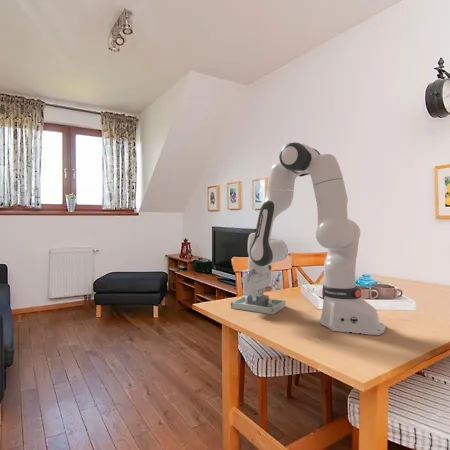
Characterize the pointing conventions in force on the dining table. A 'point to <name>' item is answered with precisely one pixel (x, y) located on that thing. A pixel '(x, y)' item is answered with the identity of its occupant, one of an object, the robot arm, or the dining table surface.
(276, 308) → the tray
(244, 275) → the syrup box
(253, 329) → the dining table surface
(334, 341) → the dining table surface
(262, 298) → the grey rectangular block
